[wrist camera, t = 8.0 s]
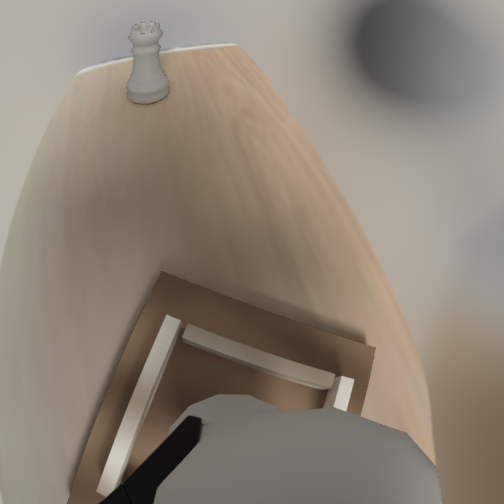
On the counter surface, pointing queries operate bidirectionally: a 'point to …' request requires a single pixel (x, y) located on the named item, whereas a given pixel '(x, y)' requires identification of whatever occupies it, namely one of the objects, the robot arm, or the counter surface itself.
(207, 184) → the counter surface
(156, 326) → the collar board
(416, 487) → the salt shaker
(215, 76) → the counter surface
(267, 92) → the counter surface
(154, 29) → the rook chess piece
